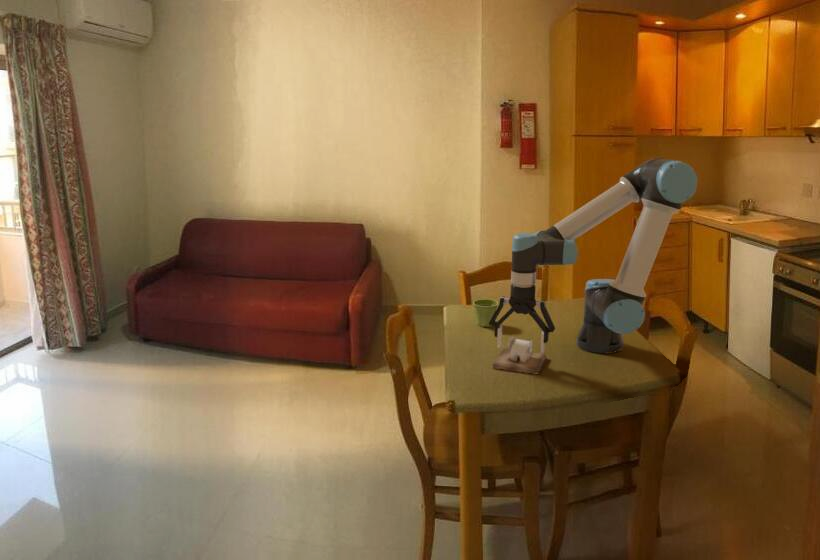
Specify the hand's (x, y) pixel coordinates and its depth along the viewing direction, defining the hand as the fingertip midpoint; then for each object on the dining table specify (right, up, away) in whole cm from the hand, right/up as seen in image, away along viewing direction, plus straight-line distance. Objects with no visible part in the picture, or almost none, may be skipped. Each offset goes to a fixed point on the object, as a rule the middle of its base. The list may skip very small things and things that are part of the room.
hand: (520, 349), depth 198 cm
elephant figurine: (0, -3, +1) cm, 3 cm away
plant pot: (-7, +5, +38) cm, 39 cm away
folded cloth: (0, -5, +1) cm, 5 cm away
